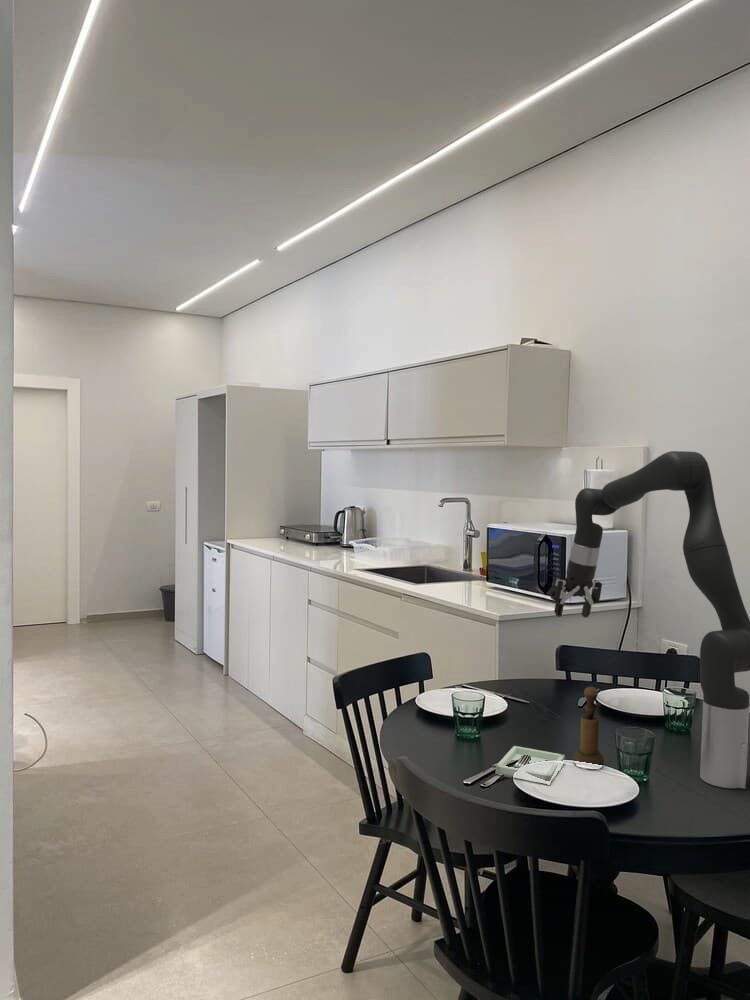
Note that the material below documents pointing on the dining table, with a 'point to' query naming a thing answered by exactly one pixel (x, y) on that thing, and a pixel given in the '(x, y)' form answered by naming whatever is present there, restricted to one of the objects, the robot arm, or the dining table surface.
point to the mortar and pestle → (589, 732)
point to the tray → (535, 757)
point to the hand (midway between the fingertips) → (571, 616)
